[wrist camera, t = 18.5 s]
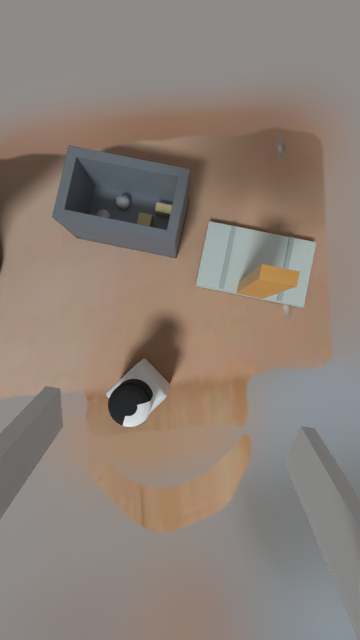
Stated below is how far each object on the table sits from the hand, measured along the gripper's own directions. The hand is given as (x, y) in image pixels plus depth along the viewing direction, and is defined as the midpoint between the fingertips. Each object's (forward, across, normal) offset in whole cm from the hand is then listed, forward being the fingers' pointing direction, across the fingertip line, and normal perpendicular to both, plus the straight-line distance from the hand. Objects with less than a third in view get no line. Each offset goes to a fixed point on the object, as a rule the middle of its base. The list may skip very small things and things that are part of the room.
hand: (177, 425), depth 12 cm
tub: (+37, -13, +11) cm, 41 cm away
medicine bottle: (+25, -5, -18) cm, 31 cm away
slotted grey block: (+34, +12, +6) cm, 36 cm away
